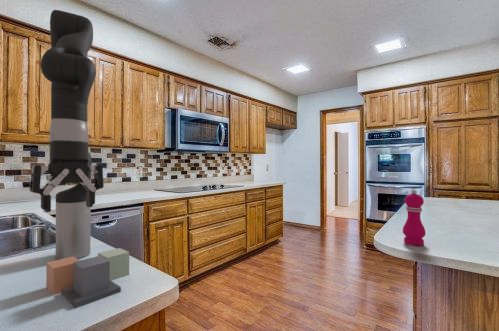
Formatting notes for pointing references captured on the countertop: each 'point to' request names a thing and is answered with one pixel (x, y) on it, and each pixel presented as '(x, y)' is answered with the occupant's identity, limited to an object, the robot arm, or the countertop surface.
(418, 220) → the pepper mill
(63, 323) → the countertop surface
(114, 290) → the tower base
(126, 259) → the brick sage
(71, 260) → the brick terracotta
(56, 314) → the countertop surface
